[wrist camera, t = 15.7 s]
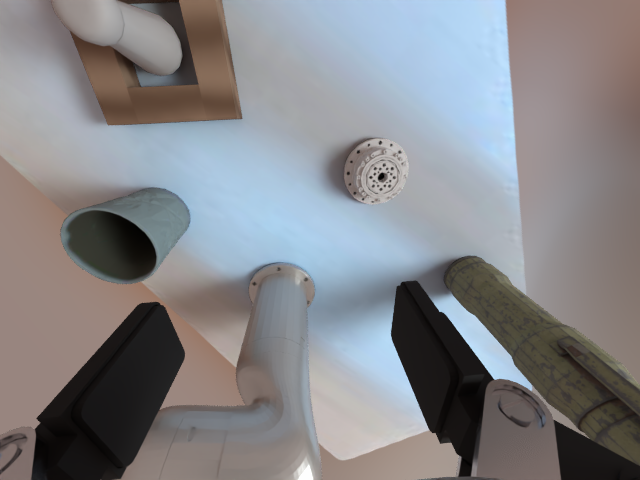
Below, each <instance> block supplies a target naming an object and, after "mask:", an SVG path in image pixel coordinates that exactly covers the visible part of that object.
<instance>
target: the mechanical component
mask: <svg viewBox="0 0 640 480" xmlns="http://www.w3.org/2000/svg"><path fill="white" fill-rule="evenodd" d="M379 141H380V144H379V143H378V142H379ZM357 150H359V152H358V153H357ZM398 151H399V152H398ZM350 161H351V162H350ZM347 172H349V173H348V174H347ZM382 172H383V173H384V175H385V177H384V179H382V176H381V174H382ZM378 175H380V176H379V177H378ZM407 176H408V160H407V157H406V154H405V152H404V151H403V149H402V148H401V147H400V146H399V145H398V144H397V143H395V142H393V141H390V140H388V139H384V138H374V139H370V140H367V141H365V142H363V143H361V144H359V145H358V146H357V147H356V148H355V149H354V150H353V151H352V152H351V153H350V155H349V156H348V158H347V161H346V164H345V166H344V180H345V185H346V187H347V189H348V191H349V192H350V193H351V195H352V196H353V197H354V198H356V199H357V200H358V201H360V202H363V203H365V204H380V203H384V202H386V201H388V200H390V199H392V198H393V197H394V196H397V195H398V193H399V192H400V191H401V190H402V188H403V186H404V184H405V181H406V179H407ZM378 179H379V180H378ZM349 183H350V184H349ZM354 192H355V193H354Z"/></svg>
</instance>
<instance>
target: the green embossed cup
mask: <svg viewBox="0 0 640 480" xmlns="http://www.w3.org/2000/svg"><path fill="white" fill-rule="evenodd" d="M189 224H190V213H189V210H188V208H187V206H186V204H185V203H184V202H183V201H182V199H181V198H179V197H178V196H177V195H176V194H174V193H172V192H170V191H167V190H166V189H160V188H148V189H144V190H141V191H139V192H136V193H133V194H130V195H128V196H125V197H121V198H117V199H114V200H111V201H107V202H104V203H101V204H97V205H94V206H90V207H87V208H83V209H80V210H77V211H75V212H73V213H71V214H70V215H69V216H68V217H67V218H66V219H65V220H64V222H63V224H62V227H61V241H62V244H63V247H64V249H65V251H66V252H67V254H68V255H69V257H70V258H71V259H72V260H73V261H74V262H75V263H76V264H77V265H78V266H79V267H80V268H82V269H83V270H85V271H87V272H88V273H90V274H92V275H93V276H95V277H97V278H99V279H102V280H105V281H108V282H112V283H117V284H132V283H137V282H140V281H143V280H145V279H147V278H149V277H150V276H152V275H153V274H154V273H155V271H156V270H157V269H158V267H159V266H160V265H161V263H162V262H163V260H164V259H165V258H166V255H168V254H169V252H170V251H171V249H172V248H173V247H174V246H175V244H176V243H177V240H179V239H180V237H181V236H182V235H183V234H184V233H185V231H186V230H187V228H188V227H189Z"/></svg>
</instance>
